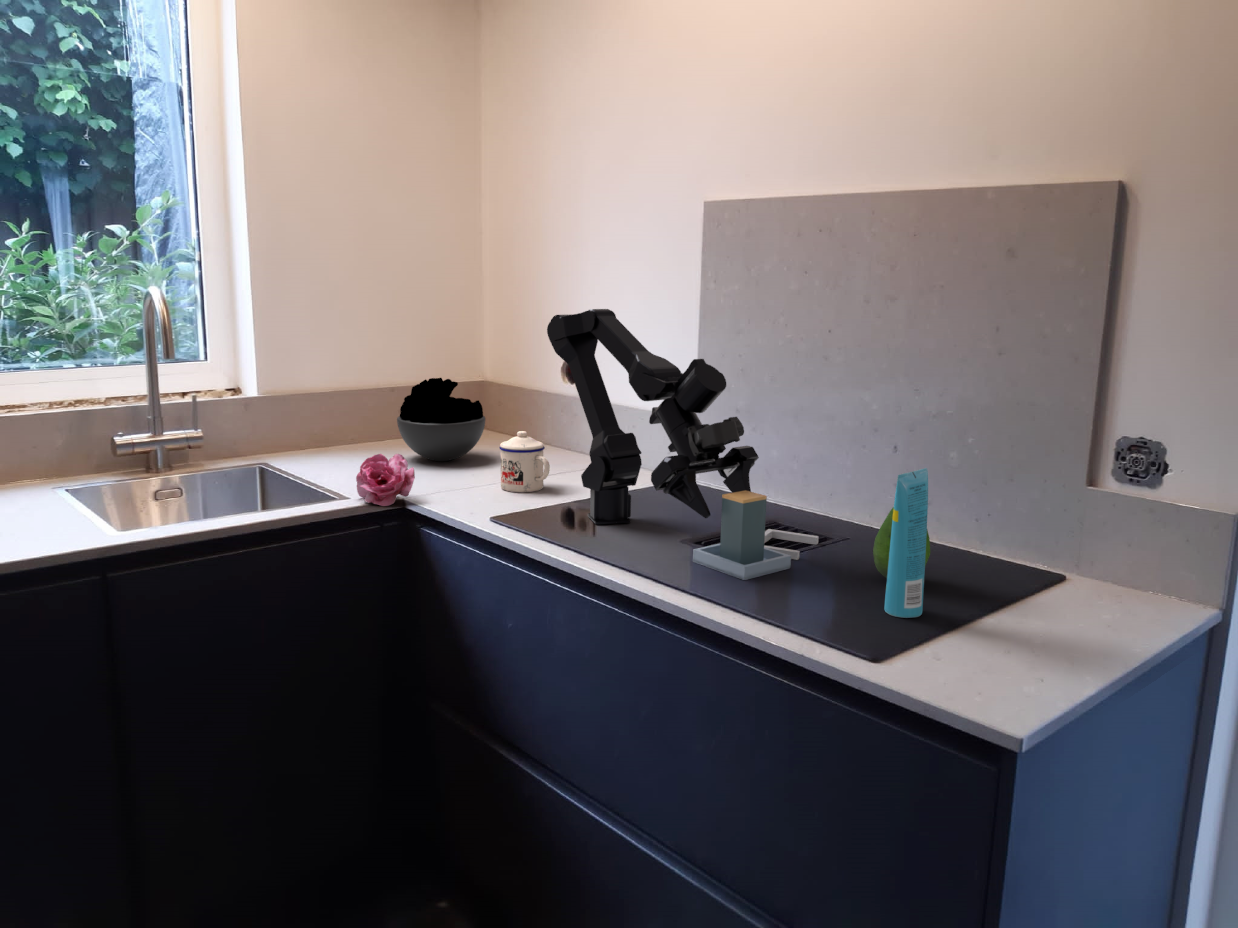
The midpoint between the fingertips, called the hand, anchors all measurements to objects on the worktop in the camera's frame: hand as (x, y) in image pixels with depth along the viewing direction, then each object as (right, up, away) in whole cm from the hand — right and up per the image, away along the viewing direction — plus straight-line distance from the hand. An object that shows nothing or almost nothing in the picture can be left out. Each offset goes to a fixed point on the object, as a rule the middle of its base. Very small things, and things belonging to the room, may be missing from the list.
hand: (730, 512), depth 147 cm
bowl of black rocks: (-58, +8, +74) cm, 95 cm away
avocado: (+24, -10, -7) cm, 27 cm away
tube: (+21, -12, -20) cm, 31 cm away
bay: (+10, -6, +9) cm, 15 cm away
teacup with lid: (-36, +2, +47) cm, 59 cm away
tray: (+2, -8, -1) cm, 8 cm away
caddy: (+2, -7, -1) cm, 8 cm away
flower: (-62, 0, +36) cm, 71 cm away
